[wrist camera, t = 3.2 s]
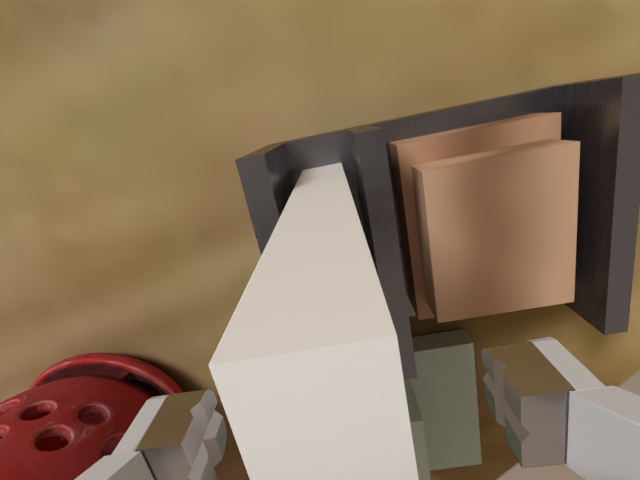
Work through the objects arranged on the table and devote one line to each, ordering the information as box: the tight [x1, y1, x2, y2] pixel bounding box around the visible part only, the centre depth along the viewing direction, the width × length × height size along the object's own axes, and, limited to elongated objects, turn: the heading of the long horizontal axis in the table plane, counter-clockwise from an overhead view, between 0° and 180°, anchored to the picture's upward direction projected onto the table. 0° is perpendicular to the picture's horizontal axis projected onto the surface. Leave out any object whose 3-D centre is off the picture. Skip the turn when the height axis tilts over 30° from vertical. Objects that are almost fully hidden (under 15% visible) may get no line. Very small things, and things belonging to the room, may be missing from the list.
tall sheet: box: [208, 163, 419, 480], centre depth 12 cm, size 2×8×15 cm, turn 11°
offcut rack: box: [235, 73, 640, 380], centre depth 17 cm, size 15×11×8 cm
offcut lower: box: [389, 112, 561, 320], centre depth 18 cm, size 7×9×2 cm
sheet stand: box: [404, 329, 482, 480], centre depth 21 cm, size 10×10×6 cm
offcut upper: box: [411, 139, 580, 323], centre depth 16 cm, size 6×7×2 cm
